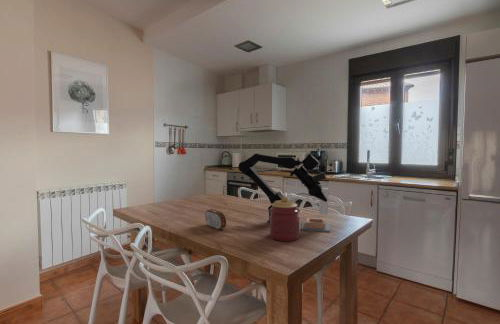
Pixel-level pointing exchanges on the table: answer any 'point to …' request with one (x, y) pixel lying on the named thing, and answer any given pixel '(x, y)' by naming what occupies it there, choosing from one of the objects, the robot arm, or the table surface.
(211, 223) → the tin
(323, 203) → the steel square bar
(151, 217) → the table surface
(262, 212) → the table surface
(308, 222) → the pocket board
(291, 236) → the canister
